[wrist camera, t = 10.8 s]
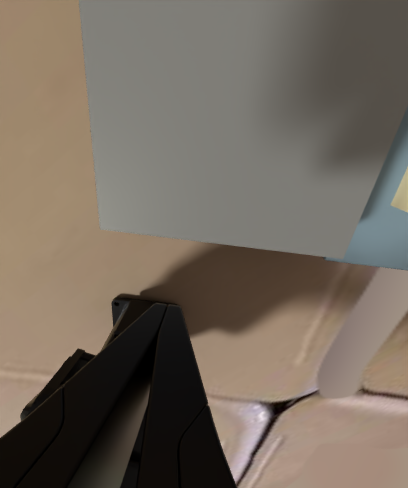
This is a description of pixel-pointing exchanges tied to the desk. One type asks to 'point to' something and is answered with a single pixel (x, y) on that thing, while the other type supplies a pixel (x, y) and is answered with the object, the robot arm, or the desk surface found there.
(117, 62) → the gray deck
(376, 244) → the slate-blue mat
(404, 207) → the maple block
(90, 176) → the desk surface
